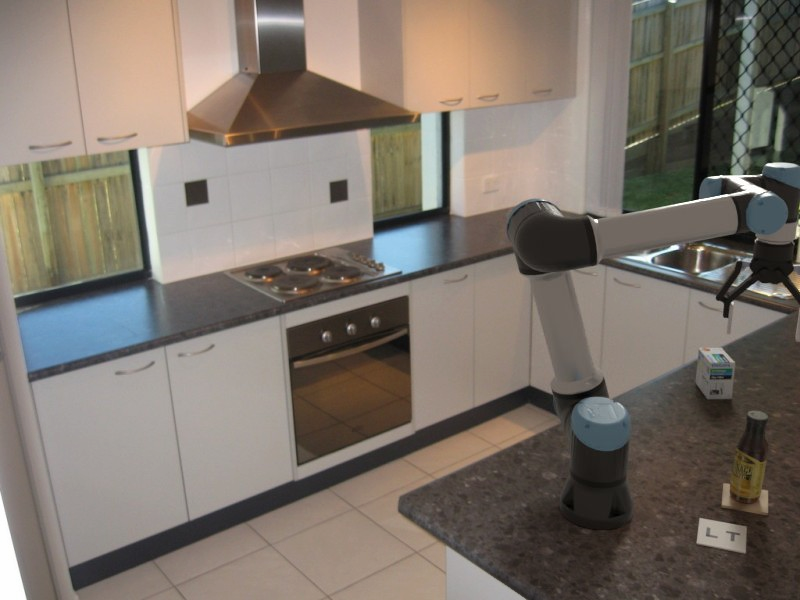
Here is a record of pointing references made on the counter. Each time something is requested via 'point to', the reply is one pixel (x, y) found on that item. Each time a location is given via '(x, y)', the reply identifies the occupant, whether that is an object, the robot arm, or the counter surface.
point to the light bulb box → (715, 373)
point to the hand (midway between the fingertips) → (762, 335)
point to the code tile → (722, 535)
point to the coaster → (755, 507)
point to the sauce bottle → (750, 460)
